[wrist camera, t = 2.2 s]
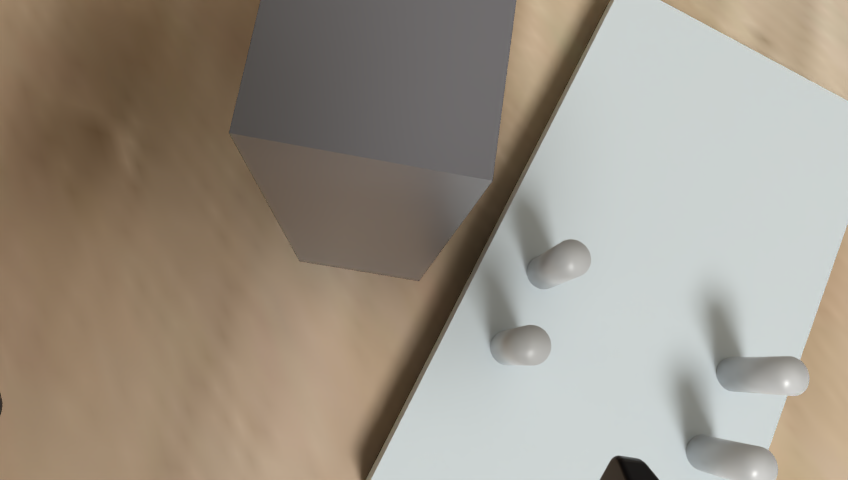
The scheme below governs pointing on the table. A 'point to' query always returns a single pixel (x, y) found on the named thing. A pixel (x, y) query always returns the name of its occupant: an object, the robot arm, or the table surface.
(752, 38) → the table surface
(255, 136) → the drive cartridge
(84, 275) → the table surface
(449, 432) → the pin dock
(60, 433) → the table surface
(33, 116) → the table surface
